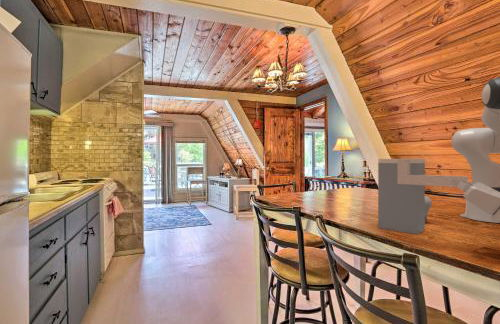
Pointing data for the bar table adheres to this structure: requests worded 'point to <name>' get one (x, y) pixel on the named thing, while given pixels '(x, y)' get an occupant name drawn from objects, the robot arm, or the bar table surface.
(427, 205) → the lightbulb
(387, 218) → the stand
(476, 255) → the bar table surface
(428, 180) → the block
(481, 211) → the robot arm
